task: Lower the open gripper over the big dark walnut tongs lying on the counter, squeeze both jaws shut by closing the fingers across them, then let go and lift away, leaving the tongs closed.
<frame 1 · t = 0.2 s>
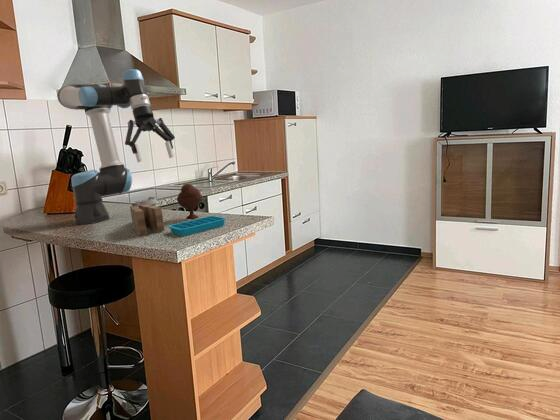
hand: (156, 159, 170), 27 cm above the countertop, tool tilted 15°, fingers open, 13 cm apart
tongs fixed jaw: (139, 226, 177), on the countertop
ice cream bowl: (192, 218, 185), on the countertop
ice cube tray: (198, 230, 163), on the countertop
food container: (152, 222, 186), on the countertop
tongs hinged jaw: (151, 217, 169), point 5 cm above the countertop, hinge at 12.0°
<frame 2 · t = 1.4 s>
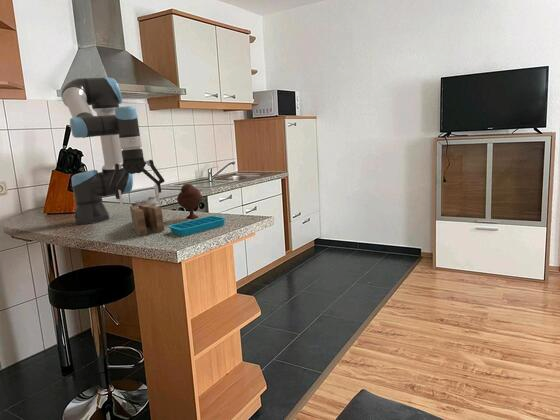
hand: (140, 204, 164), 11 cm above the countertop, tool pointing down, fingers open, 13 cm apart
nothing on the countertop moved.
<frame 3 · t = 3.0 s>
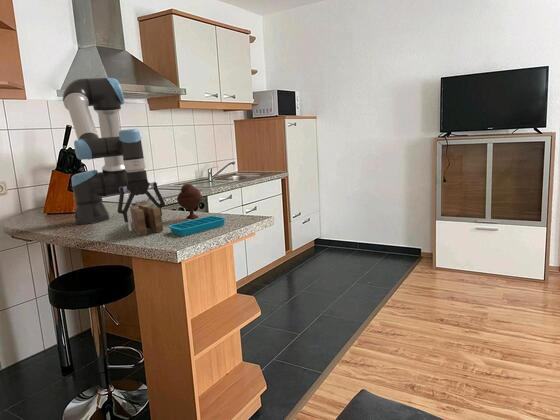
hand: (145, 227, 165), 2 cm above the countertop, tool pointing down, fingers open, 10 cm apart
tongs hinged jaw: (150, 217, 169), point 5 cm above the countertop, hinge at 10.3°, touching gripper
everything else where it was.
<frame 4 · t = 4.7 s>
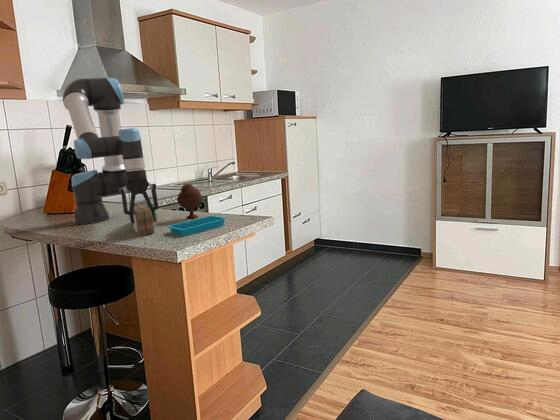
hand: (144, 229, 165), 1 cm above the countertop, tool pointing down, fingers open, 5 cm apart
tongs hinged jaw: (145, 218, 168), point 5 cm above the countertop, hinge at -0.5°, touching gripper
everything else where it was.
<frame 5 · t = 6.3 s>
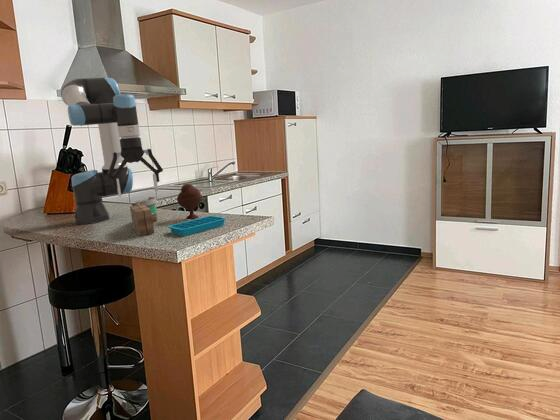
hand: (138, 193, 163), 15 cm above the countertop, tool pointing down, fingers open, 13 cm apart
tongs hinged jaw: (145, 218, 168), point 5 cm above the countertop, hinge at -0.4°
everything else where it was.
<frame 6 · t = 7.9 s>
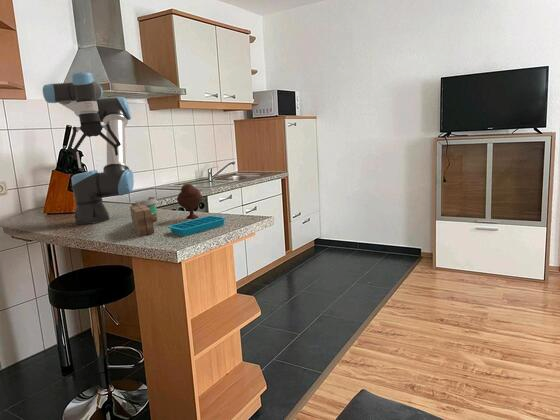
hand: (98, 166, 175), 27 cm above the countertop, tool pointing down, fingers open, 13 cm apart
nothing on the countertop moved.
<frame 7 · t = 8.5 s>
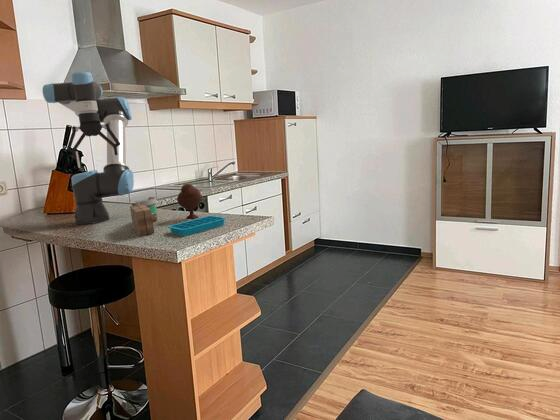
hand: (97, 165, 175), 27 cm above the countertop, tool pointing down, fingers open, 13 cm apart
nothing on the countertop moved.
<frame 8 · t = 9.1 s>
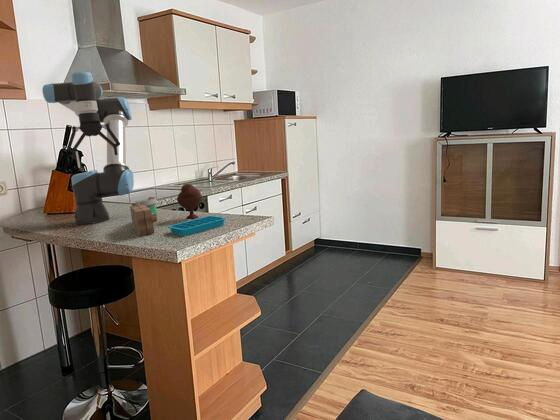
hand: (97, 165, 175), 27 cm above the countertop, tool pointing down, fingers open, 13 cm apart
nothing on the countertop moved.
at the end: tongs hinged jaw at +0° (first picture: +12°); the gripper is holding nothing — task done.
